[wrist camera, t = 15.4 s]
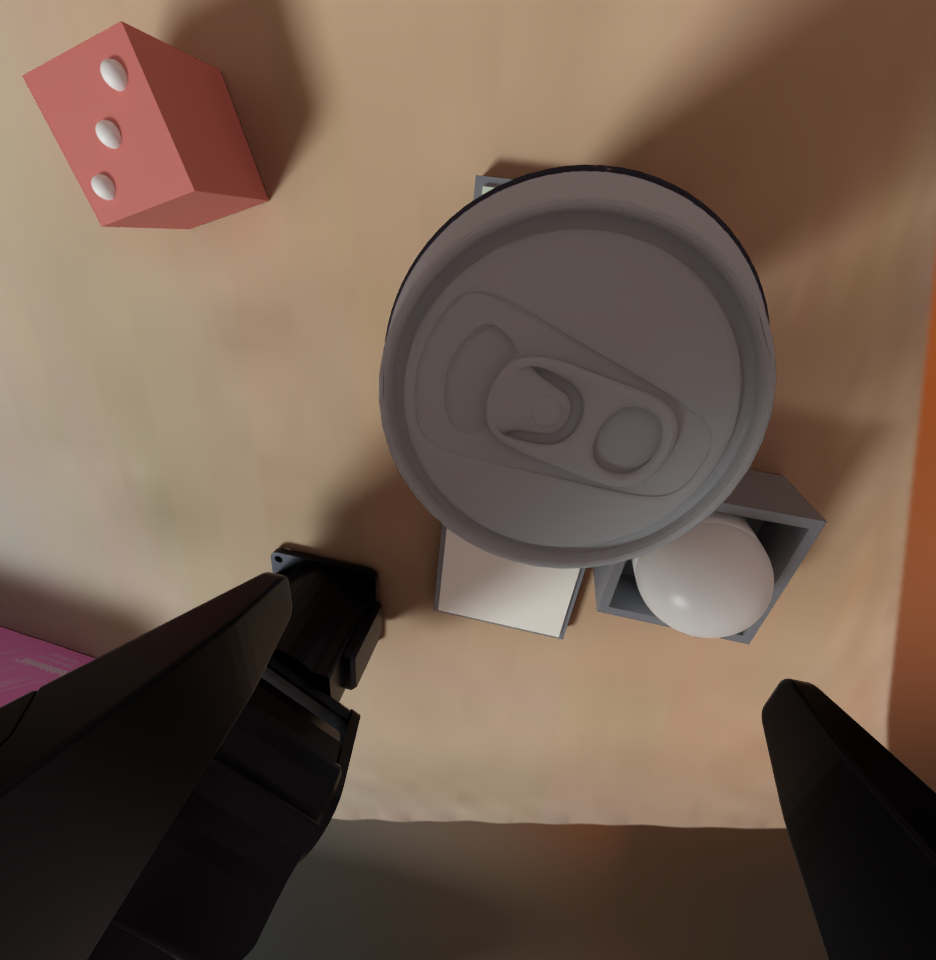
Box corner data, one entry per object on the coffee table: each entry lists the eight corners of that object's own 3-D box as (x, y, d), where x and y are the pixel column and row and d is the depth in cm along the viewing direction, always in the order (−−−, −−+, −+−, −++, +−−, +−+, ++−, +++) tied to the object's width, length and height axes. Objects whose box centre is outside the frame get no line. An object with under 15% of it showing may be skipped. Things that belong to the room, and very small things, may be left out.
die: (189, 228, 18) (92, 226, 14) (135, 110, 16) (9, 72, 13) (269, 200, 17) (186, 189, 13) (220, 70, 15) (109, 15, 12)
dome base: (592, 561, 22) (596, 611, 19) (629, 448, 19) (641, 487, 16) (722, 587, 22) (749, 644, 19) (783, 475, 18) (827, 522, 15)
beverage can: (517, 187, 14) (404, 54, 4) (676, 247, 14) (962, 265, 4) (465, 350, 17) (322, 511, 7) (598, 401, 17) (651, 638, 7)
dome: (614, 566, 21) (628, 649, 17) (646, 479, 18) (670, 550, 14) (719, 587, 20) (760, 679, 16) (765, 501, 18) (828, 582, 14)
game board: (437, 600, 26) (432, 612, 25) (479, 178, 15) (474, 174, 15) (562, 628, 25) (563, 642, 24) (696, 202, 15) (704, 200, 14)
